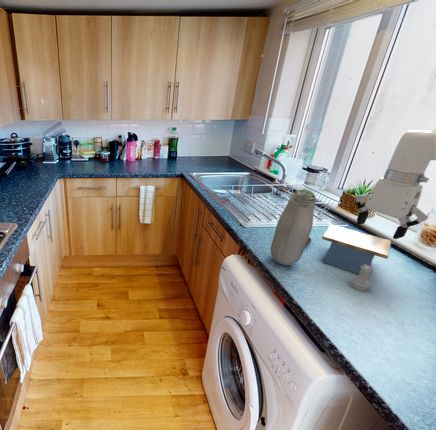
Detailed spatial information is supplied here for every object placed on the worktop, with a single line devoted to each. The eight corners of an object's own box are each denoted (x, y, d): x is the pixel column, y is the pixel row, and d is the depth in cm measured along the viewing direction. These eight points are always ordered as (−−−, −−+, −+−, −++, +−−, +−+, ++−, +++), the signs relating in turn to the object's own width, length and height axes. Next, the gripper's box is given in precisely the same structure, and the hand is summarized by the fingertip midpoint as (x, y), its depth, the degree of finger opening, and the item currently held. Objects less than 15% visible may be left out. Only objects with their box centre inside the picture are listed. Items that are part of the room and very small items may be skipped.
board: (389, 243, 101) (391, 240, 101) (386, 259, 92) (388, 255, 92) (329, 226, 113) (330, 224, 112) (321, 239, 104) (322, 236, 103)
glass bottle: (296, 273, 99) (322, 198, 88) (264, 262, 105) (285, 191, 93) (300, 260, 107) (325, 190, 95) (270, 251, 112) (290, 183, 100)
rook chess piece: (354, 289, 92) (363, 269, 89) (347, 281, 96) (356, 261, 92) (370, 292, 91) (380, 271, 88) (362, 283, 95) (372, 263, 92)
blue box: (368, 262, 106) (378, 241, 103) (364, 276, 99) (375, 254, 95) (330, 250, 114) (338, 230, 110) (324, 262, 106) (332, 241, 102)
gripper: (451, 184, 74) (420, 241, 81) (375, 167, 88) (354, 217, 96) (436, 187, 71) (405, 246, 78) (359, 169, 86) (340, 220, 93)
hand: (377, 230), depth 87 cm, fingers open, 9 cm apart
